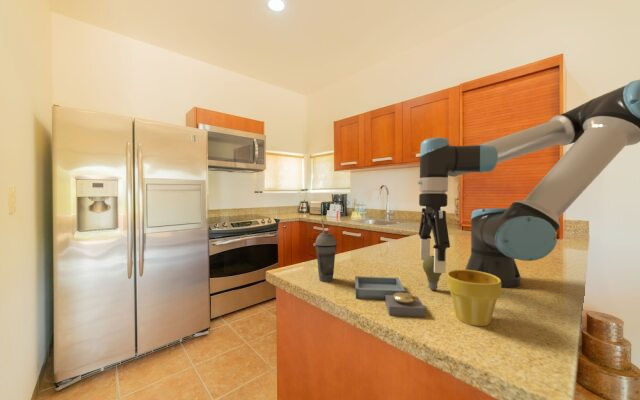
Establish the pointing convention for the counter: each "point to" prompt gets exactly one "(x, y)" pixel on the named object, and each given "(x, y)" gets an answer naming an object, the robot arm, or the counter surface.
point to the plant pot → (473, 295)
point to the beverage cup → (325, 255)
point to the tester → (404, 307)
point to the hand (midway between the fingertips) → (431, 265)
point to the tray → (377, 287)
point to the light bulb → (431, 272)
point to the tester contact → (404, 297)
